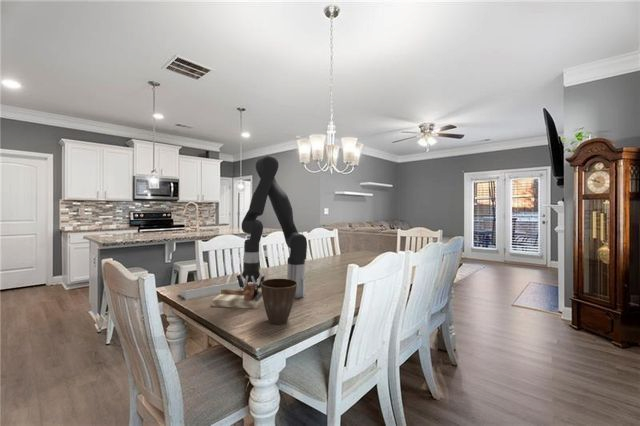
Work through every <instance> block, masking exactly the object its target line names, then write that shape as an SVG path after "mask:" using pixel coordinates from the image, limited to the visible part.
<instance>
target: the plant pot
mask: <svg viewBox="0 0 640 426" xmlns="http://www.w3.org/2000/svg"><path fill="white" fill-rule="evenodd" d="M296 288H297V282H296V281H294V280H290V279H287V278H269V279H264V281H262V282H261V288H260V289H261V290H260V291H262V297H263V301H262V302H263V307H264V310H265V314H266V317H267V319H268V322H269V323H270V324H273V325H283V324H286V323H287V322H288V319H289V317H290V314H291V311H292V307H293V305H294V301H295V299H296V298H295V293H296Z"/></svg>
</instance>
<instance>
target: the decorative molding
mask: <svg viewBox="0 0 640 426" xmlns="http://www.w3.org/2000/svg"><path fill="white" fill-rule="evenodd" d="M244 282H245V279H244V280H243V284H244ZM221 289H233V290H244V289H243V288H242V287H240V286H239V283H238V281H232V282H226V283H222V284H216V285H209V286H203V287H199V288H194V289H193V288H192V289H187V290H181V291H179V296H180V297H181V298H183V299H184V300H186V301H189V299H190V300H193V299H200V298H204V297H210V296H215V295H220V294H221ZM199 297H200V298H199Z"/></svg>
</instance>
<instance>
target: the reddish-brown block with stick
mask: <svg viewBox="0 0 640 426" xmlns="http://www.w3.org/2000/svg"><path fill="white" fill-rule="evenodd" d="M243 290H244V293H243V294H244V300H253V299H254V298H255V297H254V285H253V282H249V283H248V285H247V286H245V287H244V289H243Z"/></svg>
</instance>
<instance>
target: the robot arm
mask: <svg viewBox="0 0 640 426" xmlns="http://www.w3.org/2000/svg"><path fill="white" fill-rule="evenodd" d="M255 170H256V172H257V174H258V177H259V178H260V180H259V181H258V182H259V183H258V185H257V187H256V188H255V190H254V192H253V194H252V197H251V200H250V204H249V208H248V210H247V212H246V214H245V216H244V217H243V220H242V222H241V230H242V232H243V233H244V234H247V235H248V234H249V235H250V236H249V238H247V239H245V240H244V244H243V245H244V247H243V259H242V260H243V263H242V264H243V265H242V268H243V271H242V273H239V274H238V275H236V278H237V282H238V283H239V286H240V287H242V288H243V289H242V290H244V287H245V286H247V285H248V284H249V283H252V284H253V285H254V297H255V296H256V295H257V294H258V291H259V289H261V282H262V281H265V280H266V275H262V274H260V242H261V239H262V237H263V236H262V235H263V230H264V224H263V223H262V221H261V220H259V219H257V218H258V217H261V216H263V214H264V212H265V207H266V204H267V199H269V201H270V204H271V206H272V209H273V212H274V214H275V216H276V219H277V221H278V223H279V225H280V227H281V230H282V233H283V236H284V240H285V243H286V246H287V248H288V249H289V256H288V257H287V261H286V262H287V267H286V268H287V270H286V271H287V272H286V273H287V274H286V275H287V276H286V279H290V280H294V281H296V282H297V288H296V293H295V298H294V299H298V298H304V297H305V294H306V275H305V271H306V269H305V268H306V267H305V266H306V259H307V253H308V252H307V251H308V250H307V249H308V241H307V240H308V239H307V237H306V236H305V235H304V234H302V233H299V231H298V229H297V227H296V225H295V222H294V215H293V207H292V204H291V202H290V199H289V196H288V194H287V193H286V192H285V190H283V188H282V187H281V186H280V184H279V183H278V181H277V180H276V174H277V173H278V170H279V161H278V159H277V158H276V157H275V156H274V155H266V156H264V157H262V158H261V157H260V158H259V159H257V161H256V162H255ZM243 279H244V280H245V282H244V284H243V281H244V280H243ZM258 280H259V283H258Z"/></svg>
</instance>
